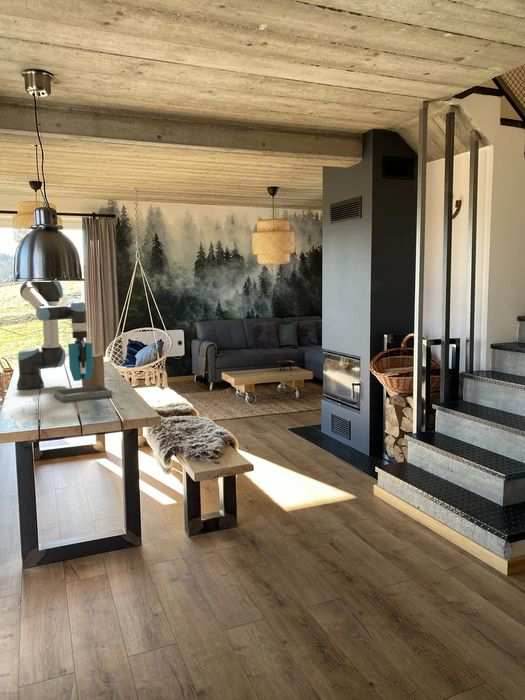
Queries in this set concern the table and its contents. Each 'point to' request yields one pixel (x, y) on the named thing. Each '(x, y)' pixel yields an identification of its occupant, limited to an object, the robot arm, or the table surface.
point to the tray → (82, 393)
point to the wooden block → (96, 372)
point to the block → (73, 361)
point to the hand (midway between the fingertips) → (81, 372)
